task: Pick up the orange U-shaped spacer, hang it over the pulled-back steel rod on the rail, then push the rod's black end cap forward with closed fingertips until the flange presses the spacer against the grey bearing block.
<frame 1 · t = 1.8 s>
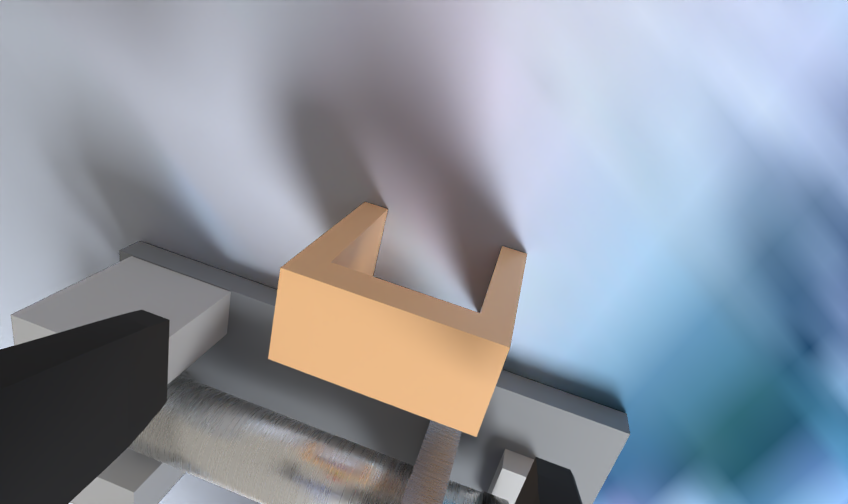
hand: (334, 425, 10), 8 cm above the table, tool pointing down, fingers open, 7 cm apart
spacer: (434, 263, 17), on the table
rail: (349, 397, 20), on the table
shaft: (304, 470, 16), point 4 cm above the table, slide at 5.0 cm
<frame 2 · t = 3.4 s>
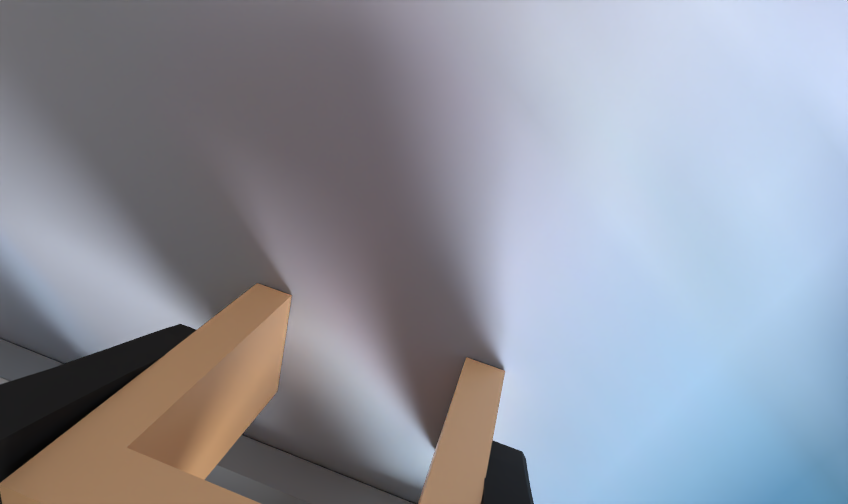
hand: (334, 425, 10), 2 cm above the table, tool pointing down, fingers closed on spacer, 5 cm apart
spacer: (365, 375, 11), on the table, touching gripper
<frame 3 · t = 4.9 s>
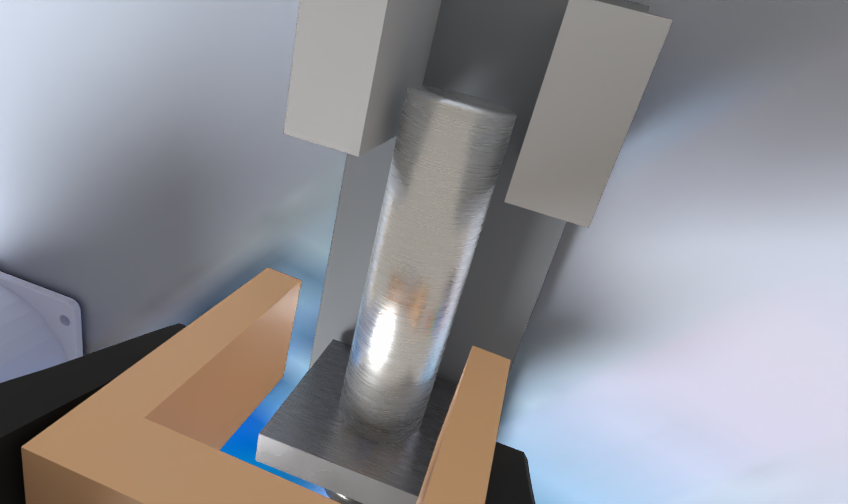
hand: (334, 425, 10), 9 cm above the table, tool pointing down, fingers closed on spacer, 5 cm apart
spacer: (371, 361, 11), point 7 cm above the table, touching gripper
rail: (434, 270, 18), on the table
shaft: (404, 323, 15), point 4 cm above the table, slide at 5.0 cm
when the fingers open (4 cm above the table, at t = 6.7 s): spacer stays where it is, resting on rail.
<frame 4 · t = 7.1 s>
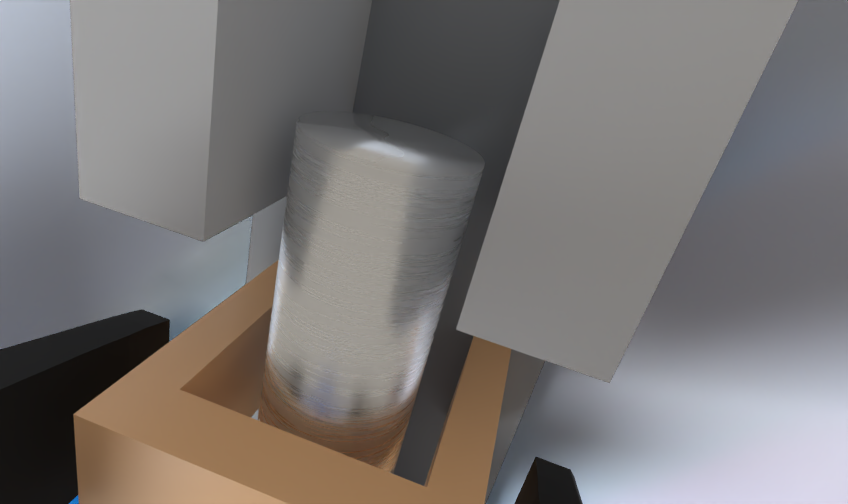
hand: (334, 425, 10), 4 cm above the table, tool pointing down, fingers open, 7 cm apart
spacer: (382, 343, 12), point 1 cm above the table, touching rail
rail: (386, 353, 13), on the table
shaft: (324, 462, 10), point 4 cm above the table, slide at 5.0 cm
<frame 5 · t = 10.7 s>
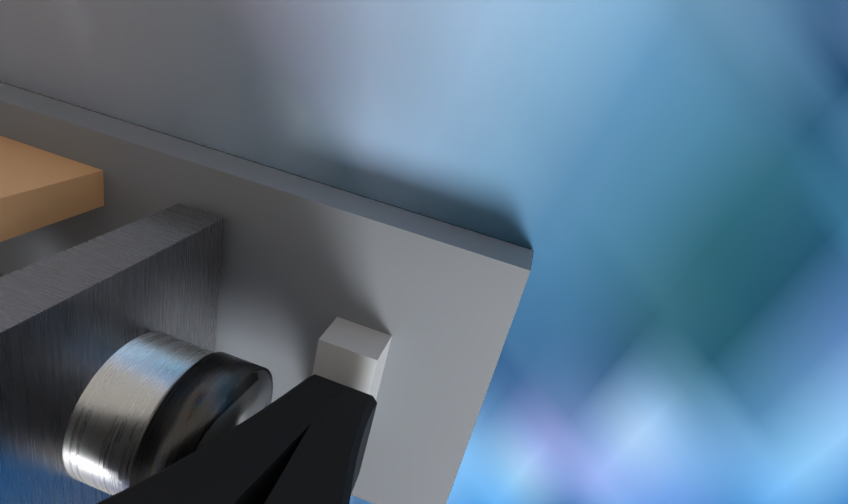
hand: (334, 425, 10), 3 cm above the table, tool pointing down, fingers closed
spacer: (58, 263, 12), point 1 cm above the table, touching rail
rail: (126, 260, 13), on the table
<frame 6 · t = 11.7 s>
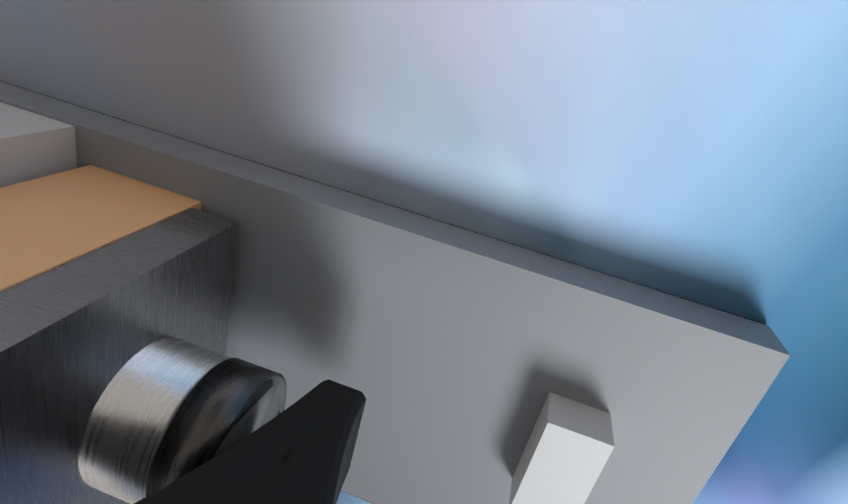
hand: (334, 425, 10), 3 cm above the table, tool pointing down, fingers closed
spacer: (144, 294, 12), point 1 cm above the table, touching rail, shaft
rail: (290, 319, 12), on the table
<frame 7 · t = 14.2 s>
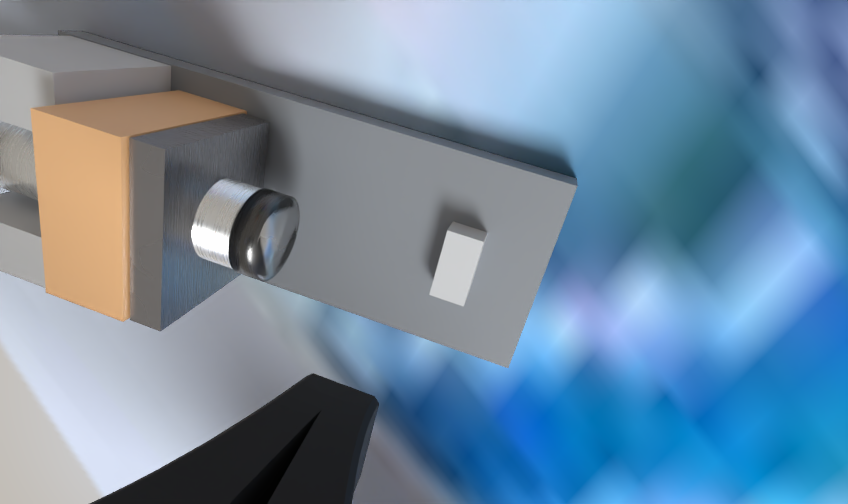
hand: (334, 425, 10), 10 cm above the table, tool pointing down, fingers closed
spacer: (208, 175, 19), point 1 cm above the table, touching rail
rail: (299, 194, 19), on the table
shaft: (100, 178, 16), point 4 cm above the table, slide at 0.0 cm
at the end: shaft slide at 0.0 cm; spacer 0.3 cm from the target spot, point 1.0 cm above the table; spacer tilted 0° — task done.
